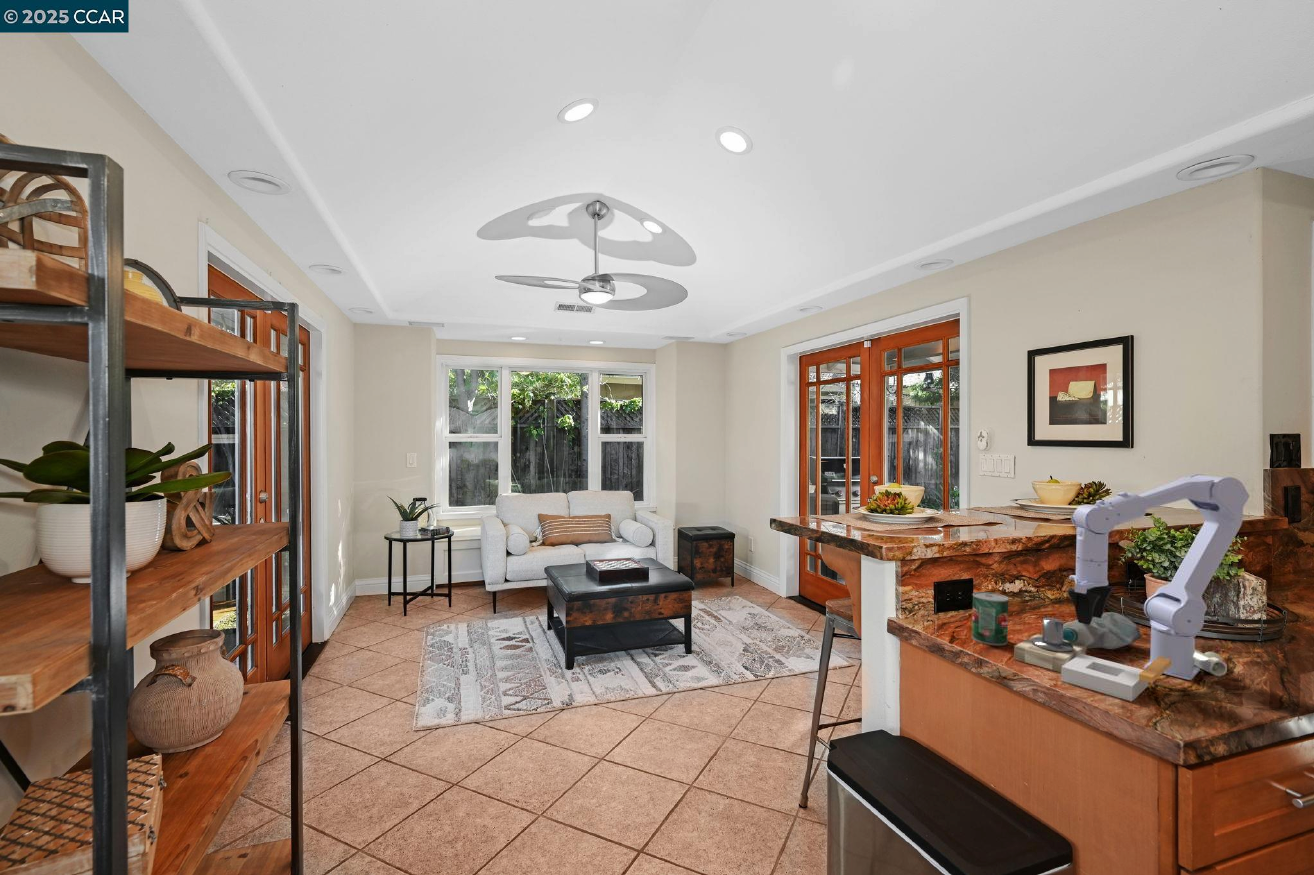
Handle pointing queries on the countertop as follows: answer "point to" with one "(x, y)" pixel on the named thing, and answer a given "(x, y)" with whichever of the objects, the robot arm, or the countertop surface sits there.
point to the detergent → (1103, 632)
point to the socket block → (1104, 676)
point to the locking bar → (1155, 669)
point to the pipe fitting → (1210, 663)
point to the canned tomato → (990, 618)
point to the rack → (1045, 654)
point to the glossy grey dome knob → (1052, 636)
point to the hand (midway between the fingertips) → (1089, 620)
